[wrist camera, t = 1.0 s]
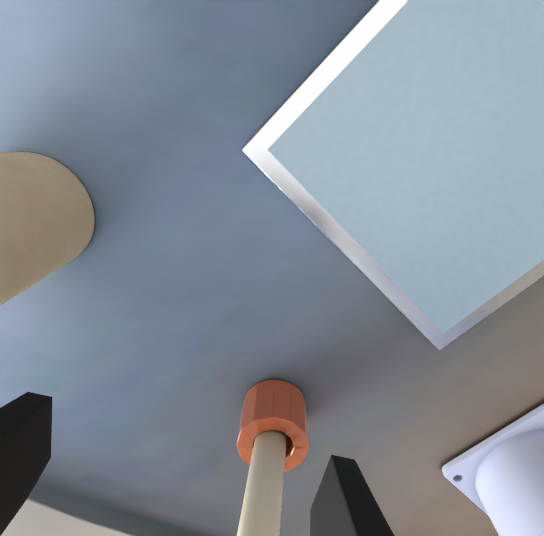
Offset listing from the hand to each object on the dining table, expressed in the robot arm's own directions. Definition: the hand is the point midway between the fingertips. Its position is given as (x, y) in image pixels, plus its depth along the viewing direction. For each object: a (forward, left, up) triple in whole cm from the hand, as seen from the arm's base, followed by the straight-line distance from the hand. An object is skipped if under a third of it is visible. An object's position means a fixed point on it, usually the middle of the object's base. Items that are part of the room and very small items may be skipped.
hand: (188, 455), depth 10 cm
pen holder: (-6, +4, -10) cm, 13 cm away
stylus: (-6, +4, -10) cm, 12 cm away
